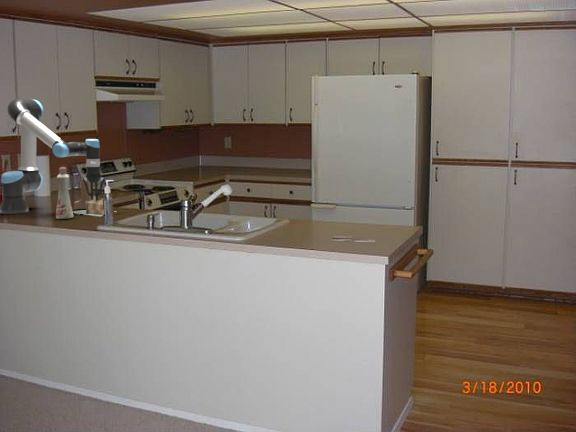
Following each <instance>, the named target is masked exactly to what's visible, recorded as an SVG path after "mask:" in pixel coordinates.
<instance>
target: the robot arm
mask: <svg viewBox="0 0 576 432" xmlns="http://www.w3.org/2000/svg"><path fill="white" fill-rule="evenodd" d="M6 110H7V114H8V115H9V117H10V119H12V120H13V121H14V122H15V123H16V124H17V125H20V166H19V167H18V169H17V170H12V171H11V170H10V171H6V172H3V173H2V174H1V179H0V182H1V194H2V202H1V204H0V214H3V215H15V214H16V215H17V214H19V215H20V214H24V213H28V212H29V206H28V204H27V202H26V198H25V193H32V192H35V191H38V190H39V189H41V187H43V186H42V185H43V183H44V177H43V175H42V173H40V169H39V168H38V167H37V138H38V139H39V140H40V141H42V142H43V143H44V144H46V145H47V146H48V147H49V148H50V149H52V153H53V155H54V156H55V157H56V158H65V157H66V158H67V157H78V156H85V162H86V164H85V165H86V168H85V169H86V174H85V177H83V178H82V180H83V182H84V184H85V187H86V191H87V194H88V195H89V196H90V197H91V200H93V201H97V200H98V197H99V196H100V195H102V192H103V191H102V190H103V186H104V182H105V181H106V178H104V177H102V175H101V167H100V166H101V157H100V153H101V152H100V151H101V150H100V149H101V148H100V147H101V146H100V140H99V139H96V138H86V139H85V142H83V141H82V142H79V141H77V142H76V141H72V142H71V141H70V142H65V140H64V139H61V137H59V136H58V135H57V134H56V133H55V132H53V131H52V130H51V129H49V128H48V126H46V125H45V124H44V123H42V122H41V121H40V119H42V117H43V115H44V107H43V105H42V104H41V102H40V101H39V100H36V99H33V98H15V99H12V100H11V101H10V102H9V103H8V105H7V109H6ZM86 179H88V181H89V182H90V193H89V189H88V186H87V183H86V181H87V180H86ZM99 181H100V185H99V188H98V182H99ZM98 189H99V190H98Z"/></svg>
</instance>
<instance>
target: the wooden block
mask: <svg viewBox="0 0 576 432" xmlns="http://www.w3.org/2000/svg"><path fill="white" fill-rule="evenodd" d="M82 179H83V178H82ZM82 179H80V186H81V187H80V189H81V190H80V192H81V197H80V199H79V200H76V201H74V203H73V208H74V210H75V209H86V202H85V201H88V202H91V196H89V195H88V194H87V191H86V187H85V184H84V182H83V180H82ZM86 180H87V181H86V183H87V186H88V189H89V193H91V188H90V182H89V181H88V179H86Z"/></svg>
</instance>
